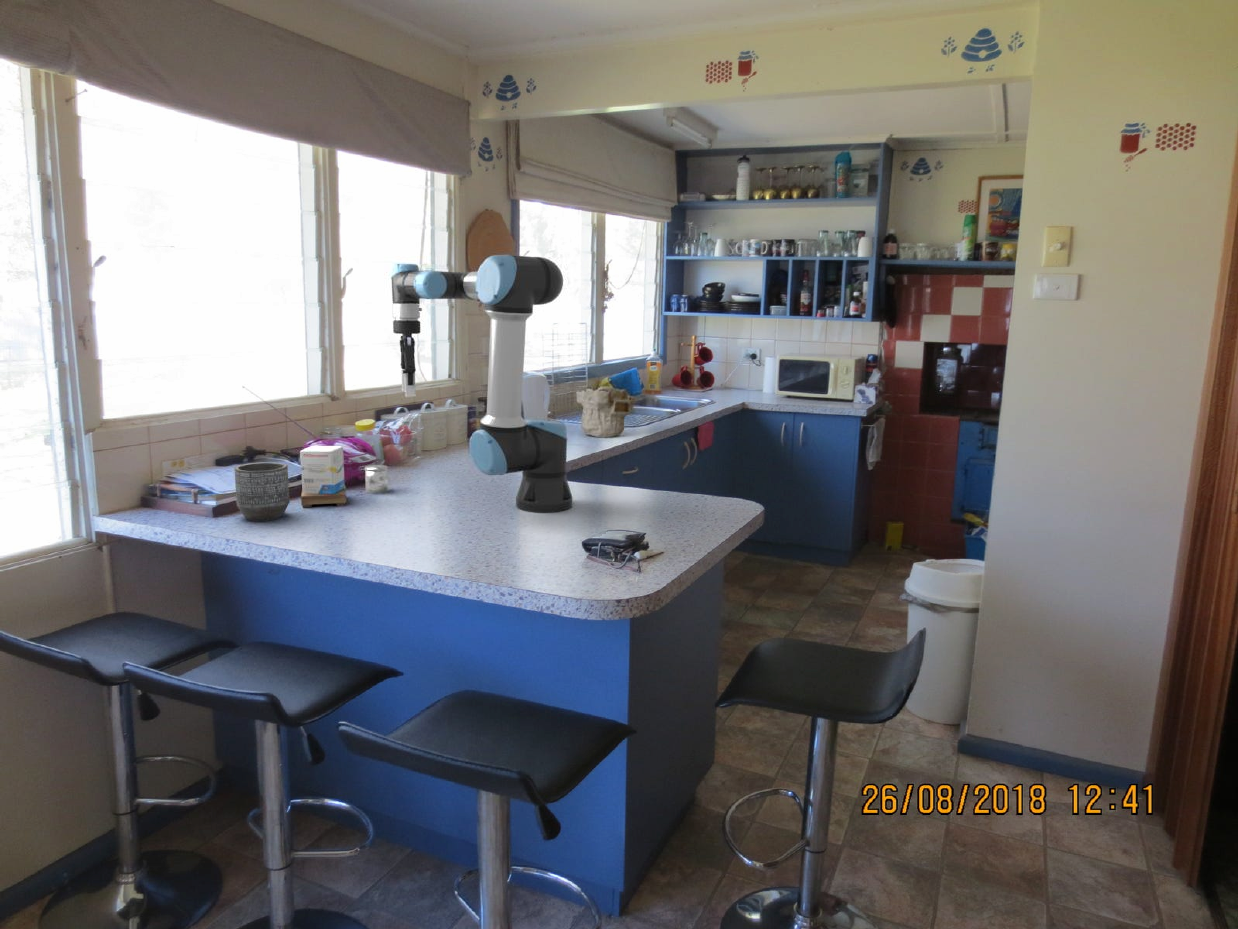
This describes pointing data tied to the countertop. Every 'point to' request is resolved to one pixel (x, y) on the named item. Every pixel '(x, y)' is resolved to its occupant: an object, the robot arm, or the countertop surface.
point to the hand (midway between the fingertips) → (408, 394)
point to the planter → (262, 490)
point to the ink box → (322, 469)
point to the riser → (324, 498)
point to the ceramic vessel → (604, 410)
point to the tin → (376, 479)
